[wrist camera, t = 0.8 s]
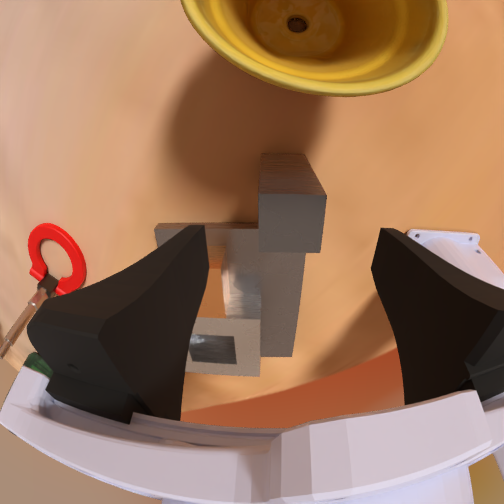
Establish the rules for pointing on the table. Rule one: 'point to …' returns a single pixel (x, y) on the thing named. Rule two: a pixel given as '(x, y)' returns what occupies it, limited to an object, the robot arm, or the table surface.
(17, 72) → the table surface
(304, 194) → the pin
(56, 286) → the tow hook
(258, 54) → the plant pot
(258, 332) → the bracket fixture
